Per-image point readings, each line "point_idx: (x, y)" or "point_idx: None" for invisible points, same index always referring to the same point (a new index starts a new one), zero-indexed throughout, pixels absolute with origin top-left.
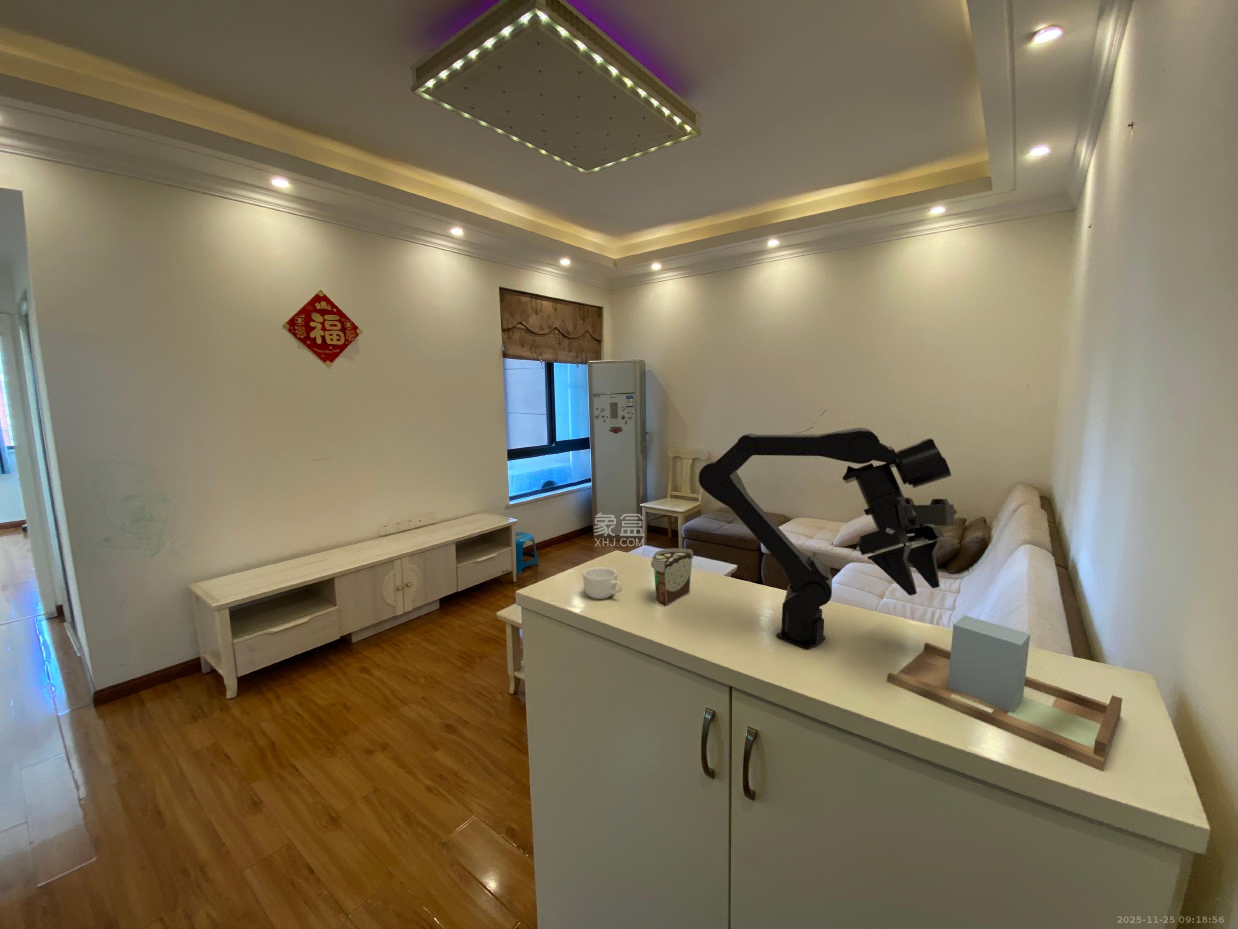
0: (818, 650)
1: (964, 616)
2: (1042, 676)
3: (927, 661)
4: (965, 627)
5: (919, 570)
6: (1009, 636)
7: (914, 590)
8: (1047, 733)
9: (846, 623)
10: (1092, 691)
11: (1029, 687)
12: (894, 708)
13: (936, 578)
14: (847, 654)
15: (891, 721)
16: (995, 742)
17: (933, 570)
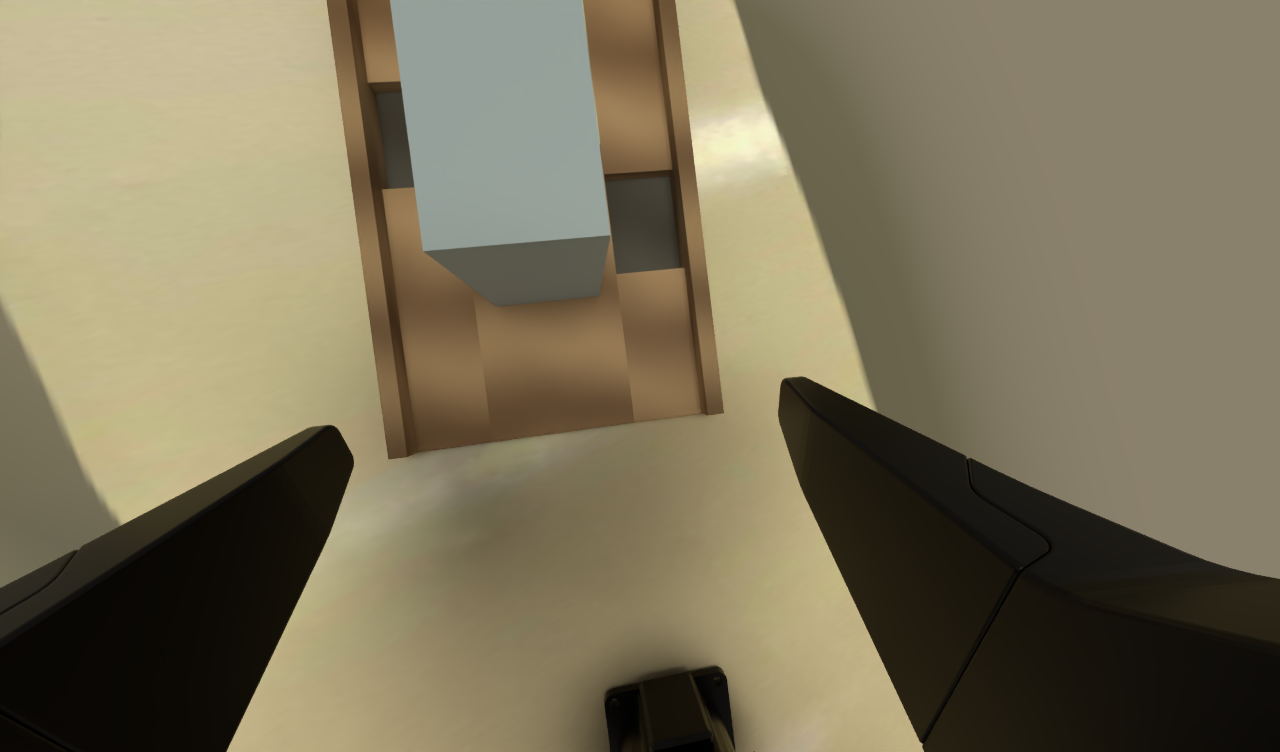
0: (689, 648)
1: (443, 243)
2: (212, 165)
3: (488, 405)
4: (593, 183)
5: (266, 637)
6: (517, 6)
7: (818, 386)
8: (605, 53)
9: (416, 742)
10: (182, 42)
11: (377, 149)
12: (783, 346)
13: (289, 459)
14: (633, 584)
15: (839, 322)
16: (715, 141)
17: (223, 519)
